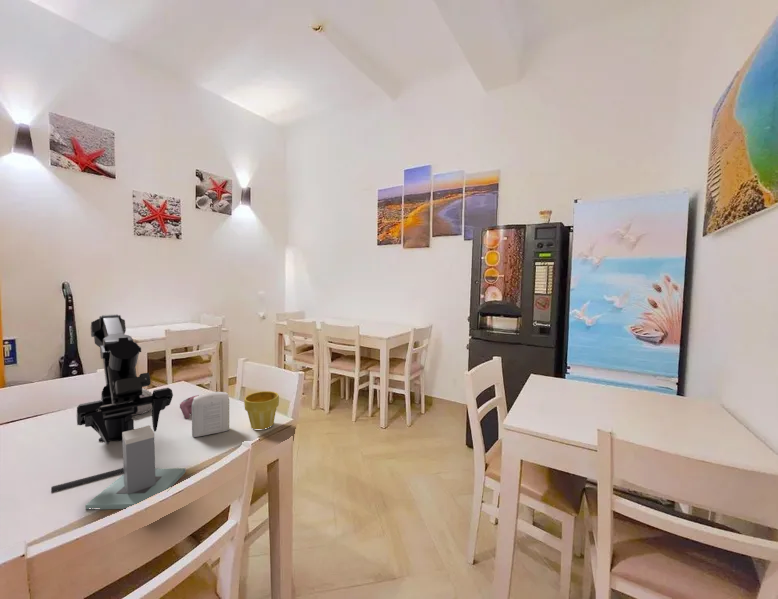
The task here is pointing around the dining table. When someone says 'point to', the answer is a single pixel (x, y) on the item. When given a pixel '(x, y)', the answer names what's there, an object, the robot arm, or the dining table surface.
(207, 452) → the dining table surface
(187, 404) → the video game controller
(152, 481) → the light grey rectangular block
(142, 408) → the sea urchin shell
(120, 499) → the teal flat square slab
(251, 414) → the plant pot
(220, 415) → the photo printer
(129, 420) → the robot arm
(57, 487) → the dark grey bar
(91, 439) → the dining table surface
